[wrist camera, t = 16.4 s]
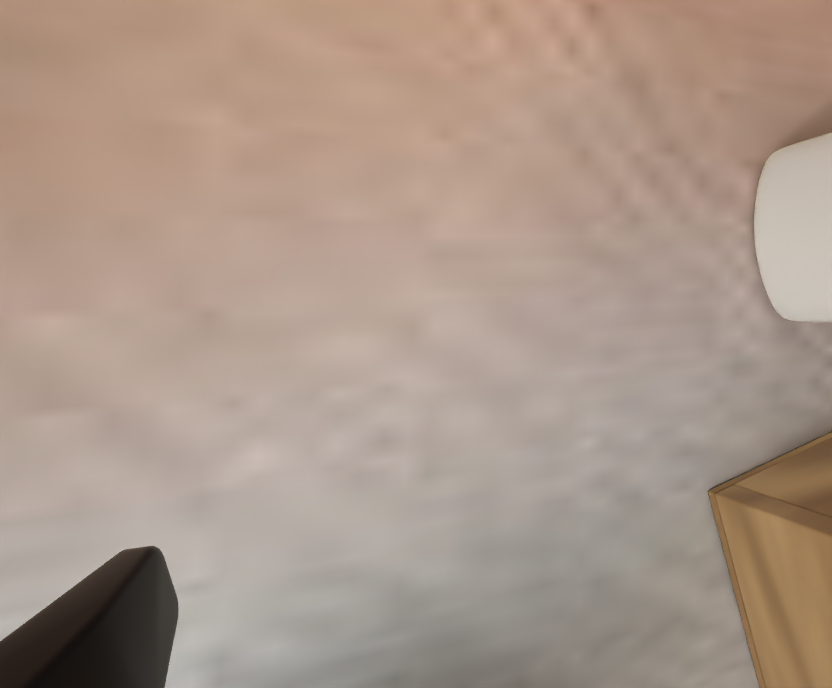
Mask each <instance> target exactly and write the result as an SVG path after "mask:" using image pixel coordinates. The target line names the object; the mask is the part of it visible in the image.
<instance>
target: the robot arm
mask: <svg viewBox="0 0 832 688" xmlns="http://www.w3.org/2000/svg"><path fill="white" fill-rule="evenodd" d="M177 620H178V600H177V596H176V593H175V589H174V586H173V583H172V580H171V577H170V574H169V571H168V568H167V565H166V562H165V559H164V556H163V554H162V552H161V551H160V549H159V548H157V547H155V546H148V547H141V548H133V549H126V550H123V551H121V552H120V553H118V554H117V555H116V556H114V557H113V558H112V559H110V560H109V561H108V562H106V563H105V564H104V565H102V566H101V567H100V568H98V569H97V570H96V571H94V572H93V573H92V574H90V575H89V576H87V577H86V578H85V579H83V580H82V581H81V582H79V583H78V584H77V585H75V586H74V587H73V588H71V589H70V590H69V591H67V592H66V593H65V594H63V595H62V596H61V597H59V598H58V599H57V600H55V601H54V602H53V603H51V604H50V605H49V606H47V607H46V608H45V609H43V610H42V611H41V612H39V613H38V614H37V615H35V616H34V617H33V618H31V619H30V620H29V621H27V622H26V623H25V624H23V625H22V626H20V627H19V628H18V629H16V630H15V631H14V632H12V633H11V634H10V635H8V636H7V637H6V638H4V639H3V640H2V641H0V688H164V686H165V681H166V676H167V671H168V666H169V661H170V656H171V651H172V646H173V640H174V635H175V630H176V625H177Z"/></svg>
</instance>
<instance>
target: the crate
mask: <svg viewBox="0 0 832 688" xmlns="http://www.w3.org/2000/svg"><path fill="white" fill-rule="evenodd" d="M708 494H709V498H710V501H711V505H712V509H713V513H714V517H715V520H716V524H717V528H718V532H719V535H720V539H721V543H722V547H723V551H724V554H725V558H726V562H727V566H728V569H729V573H730V577H731V581H732V585H733V588H734V592H735V596H736V600H737V603H738V607H739V611H740V615H741V618H742V622H743V626H744V630H745V634H746V637H747V641H748V645H749V649H750V652H751V656H752V660H753V664H754V668H755V671H756V675H757V679H758V683H759V686H760V688H832V432H831V433H829V434H826V435H824V436H822V437H820V438H818V439H816V440H814V441H812V442H810V443H808V444H805V445H803V446H801V447H799V448H797V449H795V450H793V451H791V452H789V453H787V454H784V455H782V456H780V457H778V458H776V459H774V460H772V461H770V462H768V463H766V464H763V465H761V466H759V467H757V468H755V469H753V470H751V471H749V472H747V473H745V474H742V475H740V476H738V477H736V478H734V479H732V480H730V481H728V482H726V483H724V484H721V485H719V486H717V487H715V488H713V489H711V490H709V491H708Z"/></svg>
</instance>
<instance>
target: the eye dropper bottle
mask: <svg viewBox="0 0 832 688" xmlns="http://www.w3.org/2000/svg"><path fill="white" fill-rule="evenodd" d="M754 239H755V249H756V256H757V261H758V266H759V270H760V274H761V277H762V281H763V284H764V286H765V289H766V292H767V294H768V297H769V299H770V301H771V303H772V305H773V307H774V309H775V310H776V311H777V312H778V313H779V314H780V315H781V316H782V317H783V318H785V319H788V320H792V321H797V322H832V132H831V133H828V134H824V135H821V136H818V137H814V138H811V139H808V140H805V141H801V142H798V143H795V144H792V145H788V146H786V147H783V148H781V149H779V150H777V151H775V152H773V153H772V154H771V155H770V157H769V158H768V159H767V161H766V162H765V164H764V166H763V169H762V172H761V176H760V180H759V184H758V189H757V195H756V202H755V212H754Z"/></svg>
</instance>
